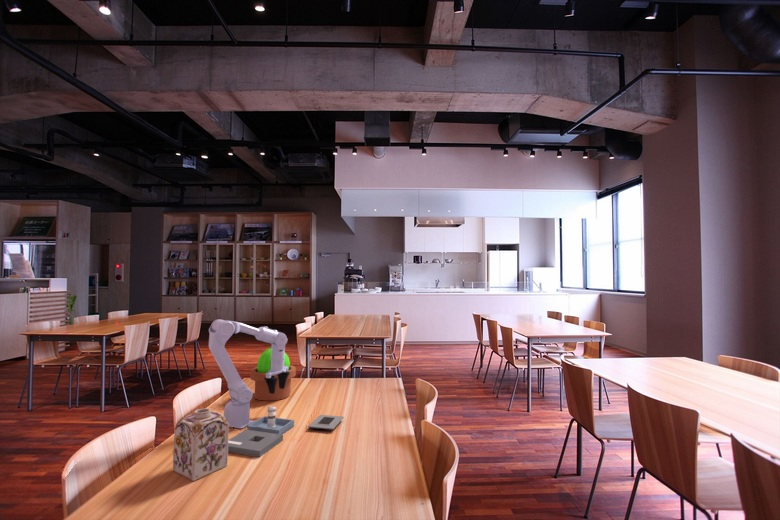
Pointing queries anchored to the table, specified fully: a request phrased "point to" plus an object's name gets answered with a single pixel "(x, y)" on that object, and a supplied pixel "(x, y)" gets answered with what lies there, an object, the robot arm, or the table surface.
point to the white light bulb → (271, 417)
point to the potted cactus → (265, 366)
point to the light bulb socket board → (253, 442)
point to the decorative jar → (200, 444)
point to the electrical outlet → (325, 422)
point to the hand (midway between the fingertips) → (277, 390)
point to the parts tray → (261, 426)
